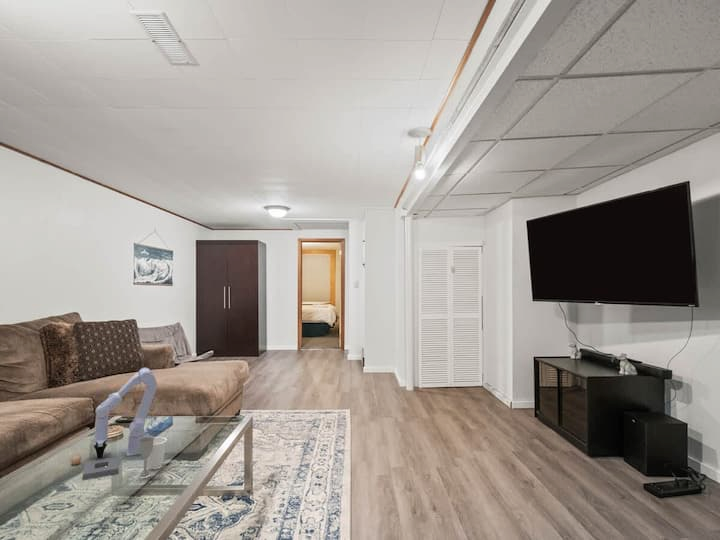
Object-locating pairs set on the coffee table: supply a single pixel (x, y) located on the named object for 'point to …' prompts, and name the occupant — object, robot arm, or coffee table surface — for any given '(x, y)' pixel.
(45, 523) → the coffee table surface
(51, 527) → the coffee table surface
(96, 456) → the steel ball
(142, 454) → the chalice
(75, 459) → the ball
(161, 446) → the foam cup
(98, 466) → the grey square frame
